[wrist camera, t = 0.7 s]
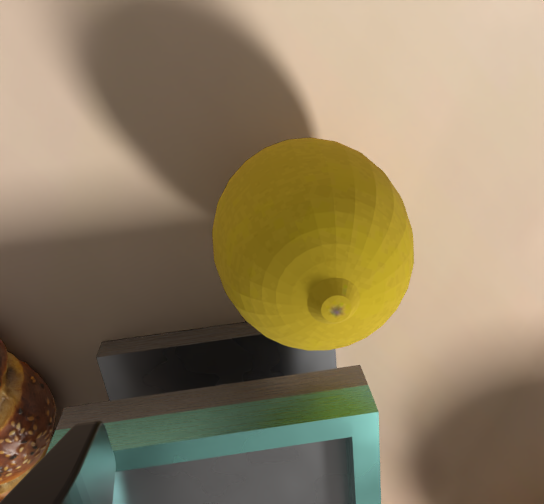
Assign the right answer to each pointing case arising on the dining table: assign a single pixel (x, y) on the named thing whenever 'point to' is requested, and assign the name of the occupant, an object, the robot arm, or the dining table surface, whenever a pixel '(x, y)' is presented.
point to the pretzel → (22, 420)
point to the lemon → (312, 244)
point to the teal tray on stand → (233, 421)
